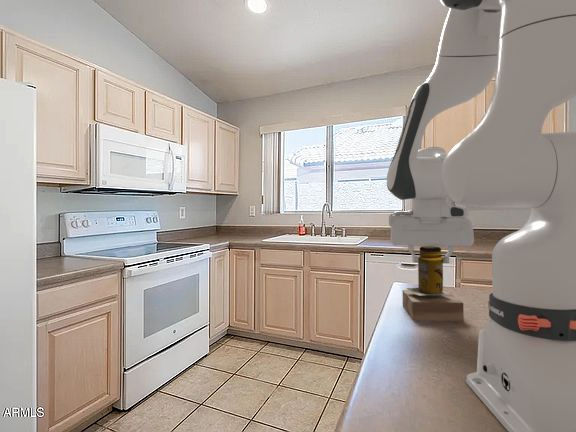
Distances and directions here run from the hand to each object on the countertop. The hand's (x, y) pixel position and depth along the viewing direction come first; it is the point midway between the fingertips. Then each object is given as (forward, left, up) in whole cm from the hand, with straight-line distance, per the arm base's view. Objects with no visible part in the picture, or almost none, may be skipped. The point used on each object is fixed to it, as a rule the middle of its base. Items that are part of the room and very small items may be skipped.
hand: (430, 262), depth 87 cm
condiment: (0, +1, -8) cm, 8 cm away
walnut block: (0, 0, -14) cm, 14 cm away
